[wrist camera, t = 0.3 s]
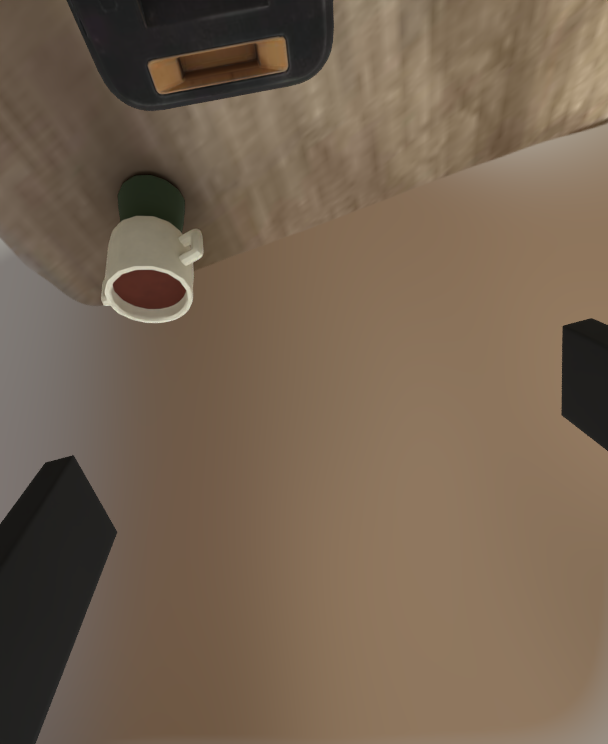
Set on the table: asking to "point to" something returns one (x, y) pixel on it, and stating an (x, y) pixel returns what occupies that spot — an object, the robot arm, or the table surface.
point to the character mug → (151, 253)
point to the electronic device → (203, 46)
